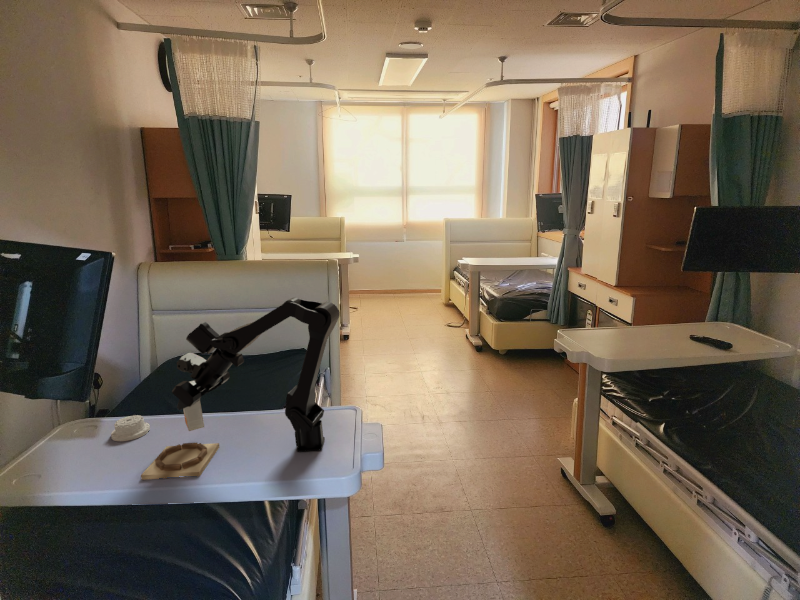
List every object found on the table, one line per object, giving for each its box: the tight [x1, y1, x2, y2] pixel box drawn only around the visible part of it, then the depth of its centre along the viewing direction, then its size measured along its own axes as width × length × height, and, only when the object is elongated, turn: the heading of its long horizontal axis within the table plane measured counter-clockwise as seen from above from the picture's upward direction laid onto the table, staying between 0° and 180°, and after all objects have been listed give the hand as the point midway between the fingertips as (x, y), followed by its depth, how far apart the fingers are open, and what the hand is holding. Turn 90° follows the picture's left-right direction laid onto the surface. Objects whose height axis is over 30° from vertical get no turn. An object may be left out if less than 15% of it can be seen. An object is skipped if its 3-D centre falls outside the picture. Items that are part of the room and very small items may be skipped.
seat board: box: [140, 442, 220, 481], centre depth 126 cm, size 14×14×2 cm
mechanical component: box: [110, 414, 151, 442], centre depth 144 cm, size 10×4×10 cm
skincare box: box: [182, 380, 205, 432], centre depth 136 cm, size 6×4×12 cm
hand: (186, 403), depth 136 cm, fingers closed on skincare box, 7 cm apart
